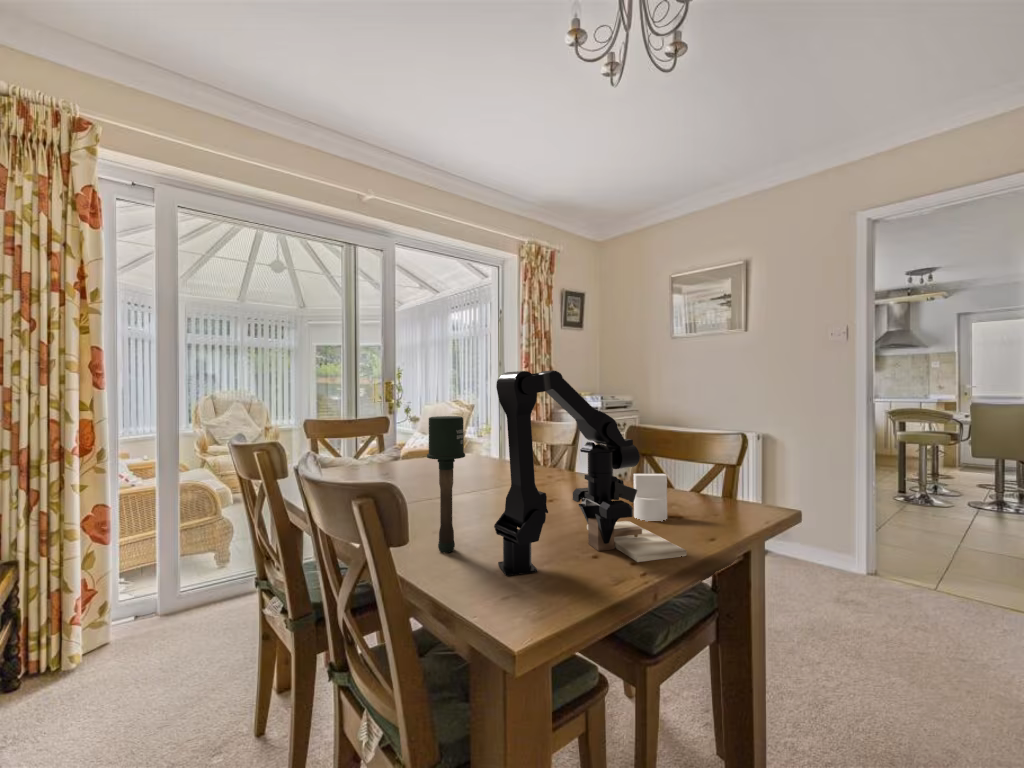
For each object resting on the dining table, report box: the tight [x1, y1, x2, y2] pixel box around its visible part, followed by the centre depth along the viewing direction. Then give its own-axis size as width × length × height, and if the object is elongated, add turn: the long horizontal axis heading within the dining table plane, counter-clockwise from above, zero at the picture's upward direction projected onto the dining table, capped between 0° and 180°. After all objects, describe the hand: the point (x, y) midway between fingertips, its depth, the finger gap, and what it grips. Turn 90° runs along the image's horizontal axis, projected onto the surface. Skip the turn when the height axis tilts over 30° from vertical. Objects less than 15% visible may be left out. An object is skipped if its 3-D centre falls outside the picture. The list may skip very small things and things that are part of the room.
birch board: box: [586, 520, 688, 563], centre depth 111 cm, size 24×12×1 cm, turn 17°
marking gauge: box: [587, 517, 642, 552], centre depth 108 cm, size 12×5×6 cm, turn 106°
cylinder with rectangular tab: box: [633, 473, 668, 522], centre depth 131 cm, size 9×9×12 cm
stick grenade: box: [426, 415, 466, 553], centre depth 105 cm, size 8×9×30 cm
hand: (600, 539), depth 107 cm, fingers closed on marking gauge, 5 cm apart
